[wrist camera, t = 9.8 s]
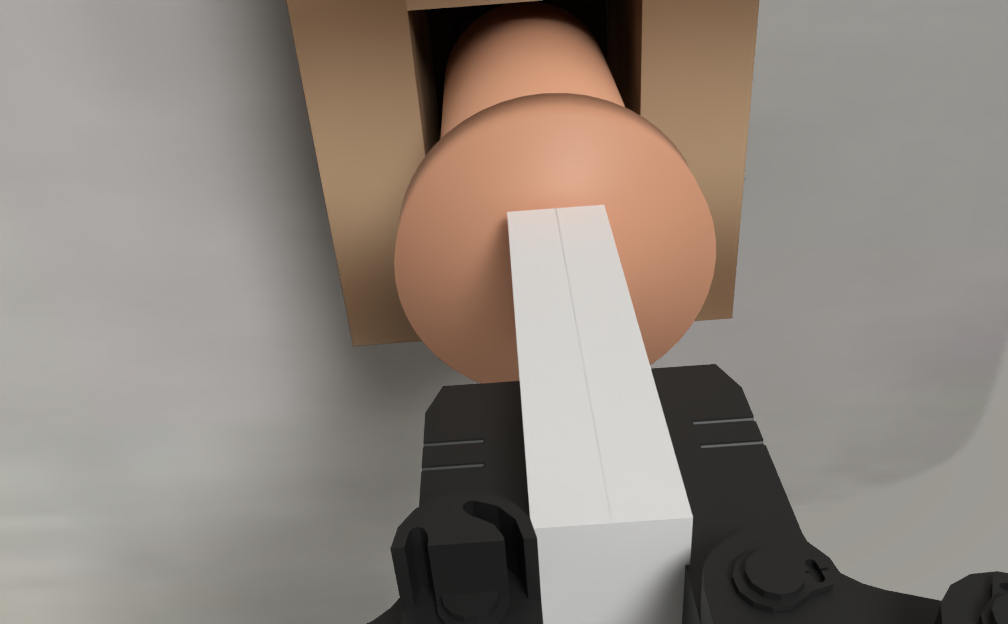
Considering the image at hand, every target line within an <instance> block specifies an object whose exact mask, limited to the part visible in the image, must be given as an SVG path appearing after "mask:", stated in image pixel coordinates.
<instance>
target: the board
mask: <svg viewBox="0 0 1008 624" xmlns="http://www.w3.org/2000/svg"><path fill="white" fill-rule="evenodd" d="M286 1H287V6H288V12H289V17H290V22H291V27H292V32H293V37H294V43H295V48H296V53H297V58H298V63H299V68H300V74H301V79H302V84H303V89H304V94H305V99H306V105H307V110H308V115H309V120H310V125H311V130H312V136H313V141H314V146H315V151H316V156H317V161H318V167H319V172H320V177H321V182H322V187H323V192H324V198H325V203H326V208H327V213H328V218H329V223H330V229H331V234H332V239H333V244H334V249H335V254H336V260H337V265H338V270H339V275H340V280H341V285H342V291H343V296H344V301H345V306H346V311H347V316H348V322H349V327H350V332H351V337H352V342H353V346H360V345H374V344H388V343H401V342H415V341H422V340H421V338H420V337H419V336H418V335H417V333H416V332H415V330H414V329H413V327H412V325H411V324H410V322H409V320H408V318H407V317H406V314H405V312H404V309H403V307H402V304H401V302H400V299H399V295H398V291H397V286H396V282H395V270H394V257H395V244H396V237H397V230H398V223H399V216H400V212H401V207H402V203H403V199H404V196H405V193H406V191H407V188H408V185H409V183H410V180H411V179H412V177H413V175H414V173H415V171H416V170H417V168H418V166H419V164H420V163H421V162H422V160H423V159H424V158H425V156H426V155H427V154H428V152H429V151H430V150H431V148H432V147H433V146H434V145H435V144H436V143H437V142H438V141H439V140H440V139H441V129H440V125H439V116H438V107H437V98H436V89H435V80H434V71H433V62H432V53H431V44H430V35H429V26H428V17H427V9H437V8H450V7H463V6H476V5H489V4H502V3H515V2H528V1H541V0H286ZM758 10H759V0H607V64H608V67H609V69H610V72H611V74H612V77H613V79H614V81H615V84H616V86H617V89H618V91H619V94H620V96H621V98H622V101H623V103H624V106H625V108H628V109H630V110H631V111H633V112H635V113H637V114H638V115H640V116H642V117H644V118H645V119H647V120H648V121H649V122H651V123H652V124H653V125H654V126H656V127H657V128H658V129H660V130H661V131H662V132H663V133H664V134H665V135H666V136H667V137H668V138H669V139H670V140H671V141H672V142H673V143H674V145H675V146H676V147H677V149H678V150H679V152H680V153H681V154H682V156H683V157H684V159H685V160H686V162H687V164H688V166H689V168H690V170H691V172H692V174H693V176H694V178H695V180H696V182H697V184H698V186H699V188H700V190H701V192H702V194H703V196H704V198H705V200H706V202H707V204H708V207H709V210H710V213H711V216H712V219H713V224H714V230H715V237H716V262H715V269H714V275H713V279H712V282H711V286H710V289H709V293H708V295H707V297H706V300H705V302H704V304H703V306H702V308H701V310H700V312H699V314H698V315H697V317H696V319H695V320H694V321H702V320H715V319H729V318H732V312H733V300H734V289H735V277H736V265H737V254H738V242H739V230H740V219H741V207H742V196H743V184H744V172H745V161H746V149H747V138H748V126H749V114H750V103H751V91H752V79H753V68H754V56H755V45H756V33H757V21H758Z"/></svg>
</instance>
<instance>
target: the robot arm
mask: <svg viewBox="0 0 1008 624" xmlns="http://www.w3.org/2000/svg"><path fill="white" fill-rule="evenodd" d="M507 218H508V232H509V246H510V259H511V273H512V287H513V301H514V315H515V329H516V343H517V357H518V370H519V381H510V382H496V383H482V384H468V385H454V386H443V387H442V389H441V390H440V392H439V393H438V395H437V396H436V398H435V399H434V401H433V402H432V404H431V405H430V407H429V408H428V410H427V411H426V413H425V428H424V448H423V457H422V472H421V487H420V502H419V507H418V508H416V509H415V510H414V511H413V512H412V513H411V514H410V515H409V516H408V517H407V518H406V519H405V520H404V521H403V523H402V524H401V525H400V526H399V527H398V529H397V532H396V535H395V537H394V540H393V543H392V546H391V553H392V559H393V564H394V569H395V574H396V579H397V584H398V590H399V595H400V598H399V599H398V600H397V601H396V603H395V604H394V605H393V606H392V607H391V608H390V609H389V610H387V611H386V612H385V613H383V614H382V615H380V616H379V617H378V618H376V619H375V620H374V621H372V622H369V623H367V624H1008V573H1004V572H998V571H997V572H987V573H977V574H970V575H968V576H966V577H964V578H963V579H961V580H959V581H957V582H955V583H954V584H952V585H950V587H949V589H948V591H947V593H946V594H945V596H944V598H943V600H942V601H939V600H934V599H929V598H923V597H919V596H914V595H908V594H903V593H898V592H893V591H887V590H883V589H880V588H876V587H873V586H869V585H866V584H862V583H860V582H858V581H856V580H854V579H852V578H850V577H848V576H845V575H843V574H841V573H840V572H839V571H838V569H837V568H836V566H835V565H834V564H833V562H832V561H831V559H830V558H829V557H828V556H826V555H825V554H824V553H822V552H821V551H820V550H818V549H817V548H815V547H814V546H813V545H811V544H810V543H809V542H807V541H806V539H805V537H804V536H803V534H802V532H801V529H800V527H799V524H798V522H797V520H796V517H795V515H794V512H793V510H792V508H791V505H790V503H789V500H788V498H787V495H786V493H785V491H784V488H783V486H782V483H781V481H780V479H779V476H778V474H777V471H776V469H775V467H774V464H773V462H772V459H771V457H770V455H769V452H768V450H767V447H766V445H764V444H763V438H762V435H761V433H760V430H759V428H758V426H757V423H756V422H754V418H753V414H752V411H751V409H750V406H749V404H748V402H747V399H746V397H745V394H744V392H743V389H742V387H741V386H739V385H738V384H737V383H736V382H735V381H734V380H733V379H732V378H730V377H729V376H728V375H727V374H726V373H725V372H724V371H723V370H721V369H720V368H719V367H718V366H717V365H716V364H710V365H696V366H682V367H668V368H654V369H651V368H650V364H649V360H648V357H647V353H646V350H645V346H644V343H643V339H642V336H641V332H640V329H639V325H638V322H637V318H636V315H635V311H634V308H633V304H632V301H631V297H630V294H629V290H628V286H627V283H626V279H625V276H624V272H623V269H622V265H621V262H620V258H619V255H618V251H617V248H616V244H615V241H614V237H613V234H612V230H611V227H610V223H609V220H608V216H607V212H606V209H605V205H593V206H579V207H566V208H552V209H539V210H525V211H512V212H507Z"/></svg>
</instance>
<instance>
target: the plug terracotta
mask: <svg viewBox="0 0 1008 624" xmlns="http://www.w3.org/2000/svg"><path fill="white" fill-rule="evenodd" d="M593 205H605V209H606V212H607V216H608V220H609V223H610V227H611V230H612V234H613V237H614V241H615V244H616V248H617V251H618V255H619V258H620V262H621V265H622V269H623V272H624V276H625V279H626V283H627V286H628V290H629V294H630V297H631V301H632V304H633V308H634V311H635V315H636V318H637V322H638V325H639V329H640V332H641V336H642V339H643V343H644V346H645V350H646V353H647V357H648V360H649V364H650V365H651V364H653V363H654V362H655V361H656V360H658V359H659V358H660V357H662V356H663V355H664V354H666V353H667V352H668V351H669V350H670V349H671V348H672V347H673V346H674V345H675V344H676V343H677V342H678V341H679V340H680V339H681V337H682V336H683V335H684V334H685V333H686V331H687V330H688V329H689V328H690V326H691V325H692V323H693V322H694V320H695V319H696V317H697V315H698V314H699V312H700V310H701V308H702V306H703V304H704V302H705V300H706V297H707V295H708V293H709V289H710V286H711V282H712V279H713V275H714V269H715V262H716V237H715V230H714V224H713V219H712V216H711V213H710V210H709V207H708V204H707V202H706V200H705V198H704V196H703V194H702V192H701V190H700V188H699V186H698V184H697V182H696V180H695V178H694V176H693V174H692V172H691V170H690V168H689V166H688V164H687V162H686V160H685V159H684V157H683V156H682V154H681V153H680V152H679V150H678V149H677V147H676V146H675V145H674V143H673V142H672V141H671V140H670V139H669V138H668V137H667V136H666V135H665V134H664V133H663V132H662V131H661V130H660V129H658V128H657V127H656V126H654V125H653V124H652V123H651V122H649V121H648V120H647V119H645V118H644V117H642V116H640V115H638V114H637V113H635V112H633V111H631V110H630V109H628V108H625V106H624V103H623V101H622V98H621V96H620V94H619V91H618V89H617V86H616V84H615V81H614V79H613V77H612V74H611V72H610V69H609V67H608V64H607V62H606V60H605V57H604V55H603V52H602V50H601V48H600V46H599V44H598V42H597V40H596V38H595V37H594V36H593V34H592V33H591V31H590V30H589V29H588V28H587V27H586V26H585V25H584V24H583V23H582V22H581V21H580V20H579V19H577V18H576V17H575V16H573V15H572V14H570V13H568V12H567V11H565V10H563V9H560V8H558V7H556V6H553V5H549V4H545V3H539V2H517V3H510V4H507V5H503V6H500V7H497V8H495V9H493V10H490V11H489V12H487V13H485V14H484V15H482V16H480V17H479V18H478V19H476V20H475V21H474V22H473V23H471V24H470V25H469V26H468V28H467V29H466V30H465V31H464V32H463V33H462V34H461V36H460V37H459V39H458V40H457V42H456V43H455V45H454V47H453V49H452V51H451V54H450V56H449V59H448V62H447V67H446V72H445V83H444V97H443V111H442V125H441V139H440V140H439V141H438V142H437V143H436V144H435V145H434V146H433V147H432V148H431V150H430V151H429V152H428V154H427V155H426V156H425V158H424V159H423V160H422V162H421V163H420V164H419V166H418V168H417V170H416V171H415V173H414V175H413V177H412V179H411V180H410V183H409V185H408V188H407V191H406V193H405V196H404V199H403V203H402V207H401V212H400V216H399V223H398V230H397V237H396V244H395V257H394V270H395V282H396V286H397V291H398V295H399V299H400V302H401V304H402V307H403V309H404V312H405V314H406V317H407V318H408V320H409V322H410V324H411V325H412V327H413V329H414V330H415V332H416V333H417V335H418V336H419V337H420V338H421V340H422V341H423V342H424V344H425V345H426V346H427V347H428V348H429V349H430V350H431V351H432V352H433V353H434V354H435V355H436V356H437V357H438V358H439V359H441V360H442V361H443V362H445V363H446V364H447V365H449V366H450V367H451V368H452V369H454V370H456V371H457V372H459V373H461V374H463V375H464V376H466V377H468V378H469V379H472V380H474V381H476V382H479V383H481V384H482V383H496V382H510V381H519V370H518V357H517V343H516V329H515V315H514V301H513V287H512V273H511V259H510V246H509V232H508V218H507V212H512V211H525V210H539V209H552V208H566V207H579V206H593Z"/></svg>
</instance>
